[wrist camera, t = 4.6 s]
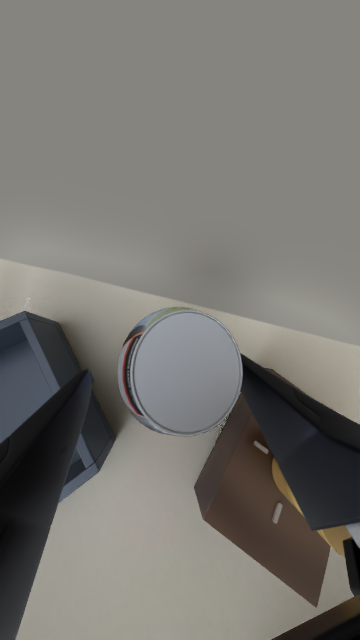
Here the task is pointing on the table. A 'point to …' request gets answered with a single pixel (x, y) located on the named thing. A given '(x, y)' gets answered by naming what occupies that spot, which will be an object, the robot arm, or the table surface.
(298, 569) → the brown dial base
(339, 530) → the yellow dial knob
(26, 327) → the dark gray square tray
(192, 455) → the table surface
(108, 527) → the table surface
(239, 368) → the beverage can
